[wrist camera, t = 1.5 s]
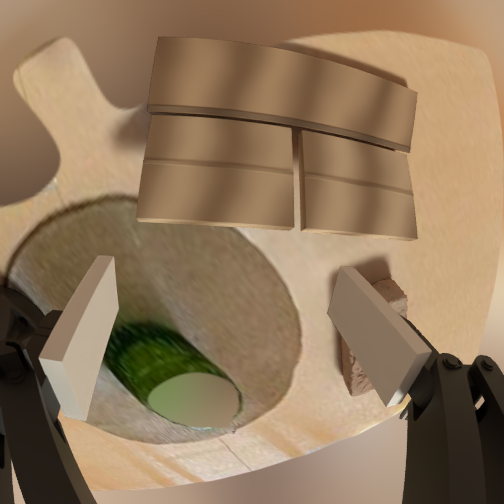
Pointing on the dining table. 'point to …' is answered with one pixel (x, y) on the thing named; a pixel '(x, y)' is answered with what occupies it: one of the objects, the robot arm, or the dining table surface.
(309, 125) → the floorboard
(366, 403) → the dining table surface
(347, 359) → the brick
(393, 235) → the plank
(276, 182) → the plank
